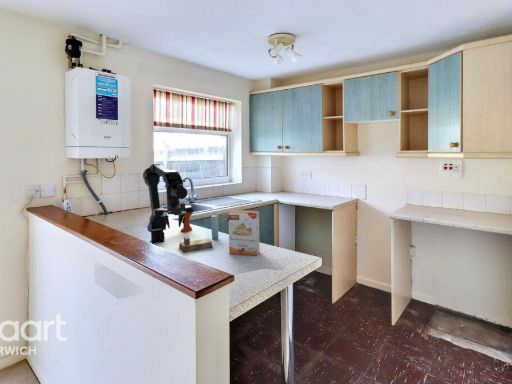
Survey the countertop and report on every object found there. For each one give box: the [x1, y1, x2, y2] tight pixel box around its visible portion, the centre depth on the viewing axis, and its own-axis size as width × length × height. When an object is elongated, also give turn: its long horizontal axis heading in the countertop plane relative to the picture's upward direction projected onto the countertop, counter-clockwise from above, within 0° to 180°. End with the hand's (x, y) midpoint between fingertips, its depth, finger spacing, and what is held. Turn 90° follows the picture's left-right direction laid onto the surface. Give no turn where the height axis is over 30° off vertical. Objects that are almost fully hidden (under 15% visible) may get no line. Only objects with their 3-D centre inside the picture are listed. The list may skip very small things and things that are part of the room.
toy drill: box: [167, 212, 193, 233], centre depth 196 cm, size 5×19×15 cm, turn 144°
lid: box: [179, 236, 214, 247], centre depth 167 cm, size 15×7×4 cm, turn 116°
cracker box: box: [227, 209, 260, 256], centre depth 156 cm, size 14×6×21 cm, turn 76°
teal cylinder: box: [210, 215, 219, 241], centre depth 182 cm, size 4×4×13 cm
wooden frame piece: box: [178, 242, 214, 253], centre depth 167 cm, size 15×9×2 cm, turn 116°
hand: (174, 227), depth 161 cm, fingers open, 5 cm apart
